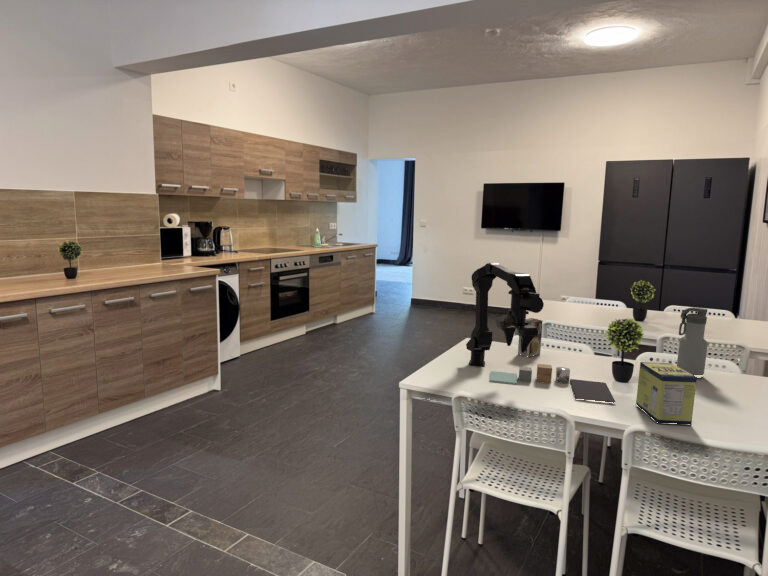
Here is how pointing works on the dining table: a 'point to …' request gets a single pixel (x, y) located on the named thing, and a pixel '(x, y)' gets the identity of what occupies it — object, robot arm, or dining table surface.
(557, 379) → the grey metal cylinder
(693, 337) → the water bottle
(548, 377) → the walnut block
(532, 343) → the coffee box
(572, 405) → the dining table surface
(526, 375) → the dark grey plastic block
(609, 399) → the notebook
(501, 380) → the teal mat
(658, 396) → the protein box
